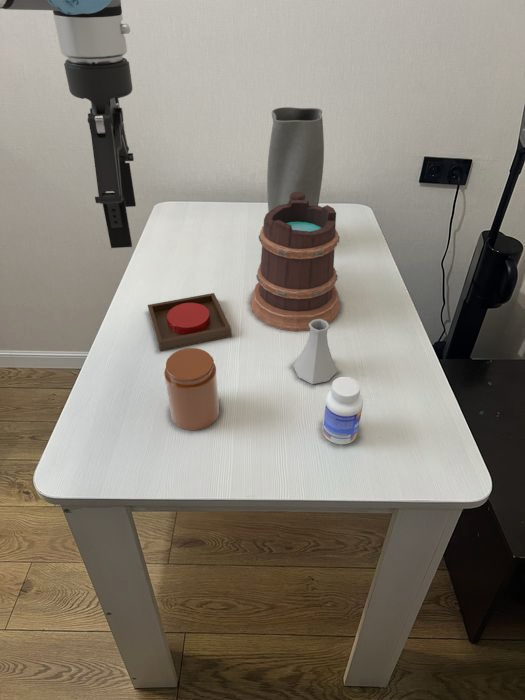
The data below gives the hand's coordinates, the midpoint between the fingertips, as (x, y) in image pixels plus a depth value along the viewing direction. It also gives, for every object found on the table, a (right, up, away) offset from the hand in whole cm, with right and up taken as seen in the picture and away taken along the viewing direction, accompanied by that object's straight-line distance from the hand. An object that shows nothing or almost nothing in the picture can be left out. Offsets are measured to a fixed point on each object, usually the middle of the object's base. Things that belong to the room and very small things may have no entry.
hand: (124, 224), depth 72 cm
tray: (+6, -13, +24) cm, 28 cm away
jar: (+10, -28, +6) cm, 30 cm away
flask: (+29, -22, +14) cm, 39 cm away
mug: (+27, -8, +31) cm, 42 cm away
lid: (+6, -12, +23) cm, 26 cm away
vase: (+27, +8, +49) cm, 57 cm away
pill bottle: (+32, -31, +3) cm, 45 cm away
